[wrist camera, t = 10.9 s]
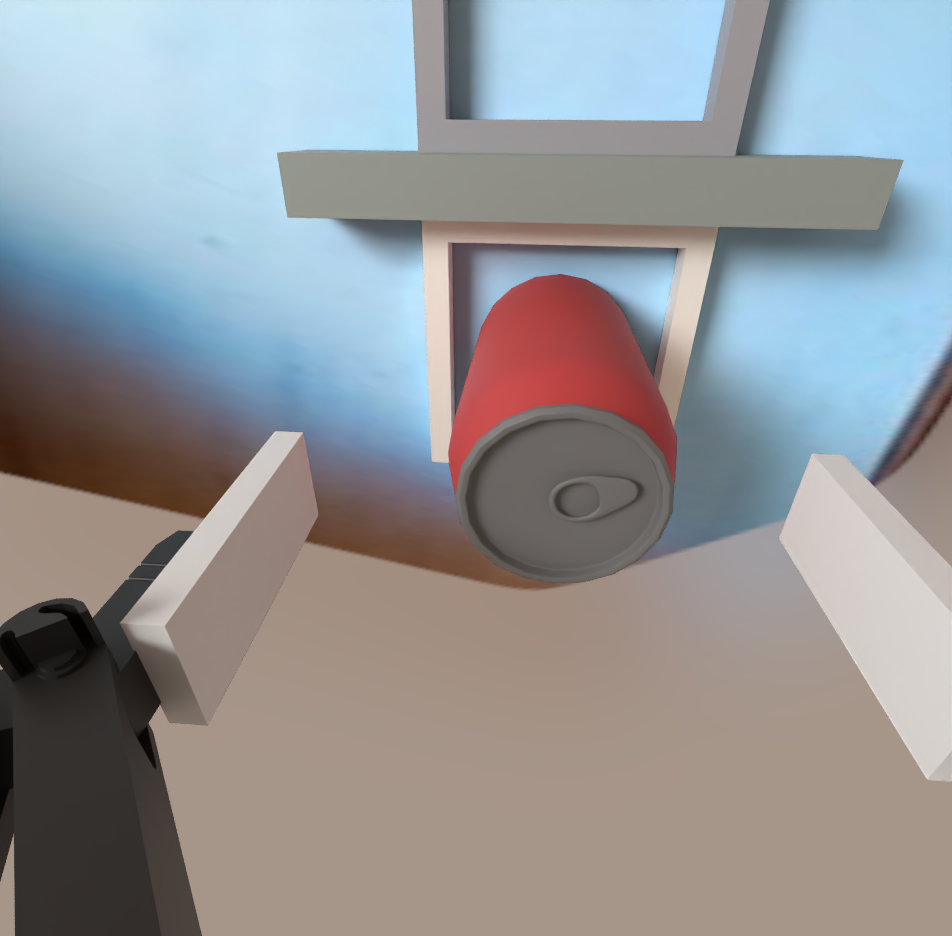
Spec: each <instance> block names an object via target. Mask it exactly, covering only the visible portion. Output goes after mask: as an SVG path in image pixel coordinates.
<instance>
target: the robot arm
mask: <svg viewBox="0 0 952 936" xmlns="http://www.w3.org/2000/svg"><path fill="white" fill-rule="evenodd" d="M317 517H318V509H317V504H316V499H315V493H314V488H313V482H312V477H311V472H310V466H309V461H308V456H307V450H306V445H305V439H304V434H303V432H281V431H275V432H274V433H273V435H272V436H271V437H270V438H269V440H268V441H267V442H266V443H265V444H264V446H263V447H262V448H261V449H260V451H259V452H258V453H257V454H256V456H255V457H254V458H253V459H252V461H251V462H250V463H249V464H248V465H247V467H246V468H245V469H244V470H243V472H242V473H241V474H240V475H239V477H238V478H237V479H236V480H235V482H234V483H233V484H232V485H231V486H230V488H229V489H228V490H227V491H226V493H225V494H224V495H223V496H222V498H221V499H220V500H219V501H218V503H217V504H216V505H215V506H214V507H213V509H212V510H211V511H210V512H209V514H208V515H207V516H206V517H205V519H204V520H203V521H202V522H201V524H200V525H199V526H198V527H197V528H196V530H195V531H177V532H175V533H174V534H172V535H171V536H169V537H168V538H166V539H165V540H163V541H162V542H160V543H159V544H157V545H156V546H155V547H154V548H153V550H152V551H151V552H150V553H149V554H148V555H147V556H146V557H145V559H144V560H143V561H142V562H141V563H142V564H141V566H138V567H137V568H136V569H135V570H134V571H133V572H132V574H131V575H130V576H129V580H126V581H125V582H124V583H123V584H122V585H121V586H120V587H119V588H118V590H117V591H116V592H115V593H114V594H113V595H112V597H111V598H110V599H109V600H108V601H107V602H106V603H105V604H104V606H103V607H102V608H101V609H100V610H99V611H98V613H97V614H96V615H95V616H94V617H93V618H92V616H91V615H90V613H89V611H88V609H87V607H86V606H85V604H84V603H83V602H81V601H78V600H76V599H73V598H68V599H67V598H66V599H65V598H63V599H54V600H49V601H46V602H42V603H38V604H36V605H34V606H32V607H30V608H27V609H25V610H23V611H21V612H19V613H18V614H16V615H15V616H13V617H12V618H11V619H9V620H8V621H7V622H5V623H4V624H3V625H2V626H1V627H0V665H1V666H2V668H3V669H2V670H0V881H1V877H2V873H3V870H4V866H5V863H6V859H7V855H8V852H9V848H10V845H11V841H12V837H13V834H14V873H15V874H14V876H15V877H14V878H15V936H202V934H201V930H200V926H199V922H198V918H197V913H196V909H195V906H194V901H193V897H192V893H191V888H190V885H189V880H188V876H187V872H186V868H185V863H184V859H183V855H182V851H181V847H180V842H179V838H178V834H177V830H176V826H175V822H174V817H173V813H172V809H171V805H170V801H169V796H168V792H167V788H166V784H165V780H164V776H163V771H162V767H161V763H160V759H159V755H158V750H157V746H156V742H155V738H154V734H153V731H152V729H151V727H150V725H149V721H150V720H151V718H152V716H153V715H154V713H155V712H156V710H157V708H158V707H159V705H161V707H162V709H163V711H164V713H165V715H166V717H167V719H168V721H169V722H170V723H181V724H194V725H207V726H208V725H209V723H210V721H211V719H212V717H213V715H214V713H215V711H216V709H217V707H218V705H219V704H220V702H221V700H222V698H223V696H224V694H225V692H226V690H227V688H228V687H229V685H230V683H231V681H232V679H233V677H234V675H235V673H236V671H237V669H238V667H239V665H240V663H241V662H242V660H243V658H244V656H245V654H246V652H247V650H248V648H249V646H250V645H251V643H252V641H253V639H254V637H255V635H256V633H257V631H258V629H259V627H260V626H261V624H262V622H263V620H264V618H265V616H266V614H267V612H268V610H269V608H270V606H271V605H272V603H273V601H274V599H275V597H276V595H277V593H278V591H279V589H280V587H281V585H282V584H283V582H284V580H285V578H286V576H287V574H288V572H289V570H290V568H291V567H292V565H293V563H294V561H295V559H296V557H297V555H298V553H299V551H300V549H301V547H302V546H303V544H304V542H305V540H306V538H307V536H308V534H309V532H310V530H311V528H312V527H313V525H314V523H315V521H316V519H317ZM779 540H780V541H781V543H782V544H783V546H784V548H785V549H786V551H787V553H788V554H789V556H790V557H791V559H792V560H793V562H794V564H795V566H796V567H797V569H798V570H799V572H800V574H801V575H802V577H803V578H804V580H805V582H806V583H807V585H808V587H809V588H810V590H811V591H812V593H813V595H814V596H815V598H816V600H817V601H818V603H819V605H820V606H821V608H822V609H823V611H824V613H825V614H826V616H827V617H828V619H829V621H830V622H831V624H832V626H833V627H834V629H835V631H836V632H837V634H838V635H839V637H840V639H841V640H842V642H843V644H844V645H845V647H846V648H847V650H848V652H849V653H850V655H851V657H852V658H853V660H854V661H855V663H856V665H857V666H858V668H859V669H860V671H861V673H862V674H863V676H864V678H865V679H866V681H867V682H868V684H869V686H870V687H871V689H872V690H873V692H874V694H875V695H876V697H877V699H878V700H879V702H880V703H881V705H882V707H883V709H884V710H885V712H886V713H887V715H888V717H889V718H890V720H891V721H892V723H893V725H894V726H895V728H896V730H897V731H898V733H899V734H900V736H901V738H902V739H903V741H904V743H905V744H906V746H907V747H908V749H909V751H910V752H911V754H912V756H913V757H914V759H915V760H916V762H917V764H918V765H919V767H920V769H921V770H922V772H923V774H924V775H925V777H926V778H927V780H937V781H951V782H952V567H951V566H950V565H949V564H948V563H947V562H946V561H945V560H944V559H943V557H941V556H940V554H939V553H938V552H937V551H936V550H935V549H934V548H933V547H932V546H931V545H930V544H929V543H928V542H927V541H926V540H925V539H924V538H923V537H922V536H921V535H920V534H919V533H918V532H917V531H916V530H915V528H914V527H913V526H911V524H910V523H909V522H908V521H906V519H905V518H904V517H903V516H902V515H901V514H900V513H899V512H898V511H897V510H896V509H895V508H894V507H893V506H892V505H891V504H890V503H889V502H888V501H887V500H886V499H885V497H884V496H883V495H882V494H881V493H880V492H879V491H878V490H877V489H876V488H875V487H874V486H873V485H872V484H871V483H870V482H869V481H868V480H867V479H866V478H865V477H864V476H863V475H862V474H861V473H860V472H859V471H858V469H857V468H856V467H855V466H854V465H853V464H852V463H851V462H850V461H849V460H848V459H847V458H846V457H845V456H844V455H832V454H812V455H811V458H810V460H809V463H808V465H807V468H806V470H805V473H804V475H803V478H802V481H801V483H800V486H799V488H798V491H797V493H796V496H795V498H794V501H793V504H792V506H791V509H790V511H789V514H788V516H787V519H786V521H785V524H784V527H783V529H782V532H781V534H780V537H779Z"/></svg>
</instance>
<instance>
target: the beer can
mask: <svg viewBox="0 0 952 936" xmlns="http://www.w3.org/2000/svg"><path fill="white" fill-rule="evenodd" d="M676 453H677V436H676V433H675V430H674V427H673V424H672V421H671V418H670V415H669V412H668V409H667V406H666V404H665V402H664V400H663V397H662V395H661V393H660V391H659V389H658V387H657V384H656V382H655V380H654V378H653V376H652V373H651V371H650V369H649V367H648V365H647V363H646V360H645V358H644V356H643V354H642V352H641V349H640V347H639V345H638V343H637V341H636V338H635V336H634V334H633V332H632V330H631V328H630V325H629V323H628V321H627V319H626V317H625V314H624V312H623V311H622V309H621V308H620V307H619V306H618V304H617V303H616V302H615V301H614V300H613V298H612V297H611V296H610V295H609V293H608V292H606V291H605V290H603V289H601V288H600V287H598V286H596V285H595V284H593V283H591V282H590V281H588V280H586V279H582V278H577V277H572V276H567V275H563V274H558V275H550V276H541V277H535V278H533V279H530V280H528V281H526V282H524V283H522V284H520V285H517V286H515V287H513V288H511V289H510V290H509V291H508V292H507V293H506V294H505V295H504V296H503V297H502V298H501V299H500V300H498V301H497V302H496V303H495V304H494V305H493V307H492V309H491V311H490V312H489V314H488V316H487V318H486V320H485V321H484V323H483V325H482V327H481V331H480V334H479V337H478V341H477V344H476V348H475V351H474V354H473V358H472V361H471V364H470V368H469V371H468V375H467V378H466V381H465V385H464V388H463V391H462V395H461V398H460V402H459V405H458V408H457V412H456V415H455V419H454V422H453V427H452V433H451V438H450V444H449V450H448V458H449V465H450V471H451V476H452V481H453V487H454V492H455V497H456V503H457V508H458V513H459V518H460V523H461V525H462V526H463V528H464V530H465V531H466V533H467V535H468V536H469V538H470V540H471V541H472V543H473V545H474V546H475V547H476V548H477V549H478V550H480V551H481V552H482V553H483V554H484V555H485V556H486V557H488V558H489V559H490V560H491V561H492V562H493V563H494V564H496V565H498V566H500V567H502V568H504V569H506V570H508V571H510V572H512V573H514V574H517V575H519V576H521V577H524V578H529V579H533V580H538V581H543V582H548V583H579V582H586V581H590V580H594V579H597V578H601V577H605V576H609V575H612V574H614V573H616V572H618V571H620V570H622V569H623V568H625V567H627V566H629V565H630V564H632V563H634V562H636V561H637V560H639V559H640V558H641V557H642V556H643V555H644V554H645V553H646V552H647V551H648V550H649V549H650V548H651V547H652V546H653V545H654V544H655V543H656V542H657V541H658V540H659V539H660V538H661V535H662V533H663V531H664V529H665V527H666V525H667V523H668V521H669V518H670V516H671V514H672V511H673V495H674V483H675V470H676Z"/></svg>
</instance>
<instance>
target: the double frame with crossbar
mask: <svg viewBox="0 0 952 936" xmlns="http://www.w3.org/2000/svg"><path fill="white" fill-rule="evenodd" d="M769 2H770V0H726V3H725V8H724V14H723V19H722V24H721V29H720V34H719V40H718V45H717V50H716V55H715V61H714V66H713V71H712V76H711V81H710V87H709V92H708V97H707V102H706V107H705V113H704V118H703V121H606V120H451V119H450V72H449V8H448V0H412V11H413V35H414V58H415V81H416V105H417V128H418V151H361V150H302V151H291V152H280V153H277V155H278V162H279V168H280V174H281V180H282V186H283V192H284V199H285V205H286V211H287V217H290V218H336V219H383V220H421V222H422V245H423V269H424V292H425V316H426V339H427V363H428V386H429V409H430V433H431V456H432V462H446V463H449V458H448V450H449V444H450V438H451V433H452V427H453V422H454V419H455V393H454V329H453V265H452V242H457V243H498V244H538V245H579V246H619V247H660V248H678V254H677V259H676V264H675V269H674V274H673V280H672V285H671V290H670V295H669V300H668V306H667V311H666V316H665V321H664V327H663V332H662V337H661V342H660V347H659V353H658V358H657V363H656V368H655V373H654V380H655V382H656V384H657V387H658V389H659V391H660V393H661V395H662V397H663V400H664V402H665V404H666V406H667V409H668V412H669V415H670V418H671V421H672V424H673V427H674V426H675V421H676V417H677V412H678V408H679V403H680V399H681V394H682V390H683V385H684V381H685V377H686V372H687V368H688V363H689V359H690V354H691V350H692V345H693V341H694V336H695V332H696V328H697V323H698V319H699V314H700V310H701V305H702V301H703V296H704V292H705V287H706V283H707V279H708V274H709V270H710V265H711V261H712V256H713V252H714V247H715V243H716V238H717V234H718V230H719V227H754V228H801V229H847V230H878V228H879V225H880V223H881V220H882V217H883V215H884V212H885V209H886V206H887V204H888V201H889V198H890V196H891V193H892V190H893V187H894V185H895V182H896V179H897V177H898V174H899V171H900V168H901V166H902V163H903V160H896V159H885V158H873V157H861V156H808V155H735V154H736V149H737V145H738V141H739V136H740V132H741V127H742V123H743V118H744V114H745V109H746V105H747V100H748V96H749V92H750V87H751V83H752V78H753V74H754V69H755V65H756V60H757V56H758V51H759V47H760V43H761V38H762V34H763V29H764V25H765V20H766V16H767V11H768V7H769Z"/></svg>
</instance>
